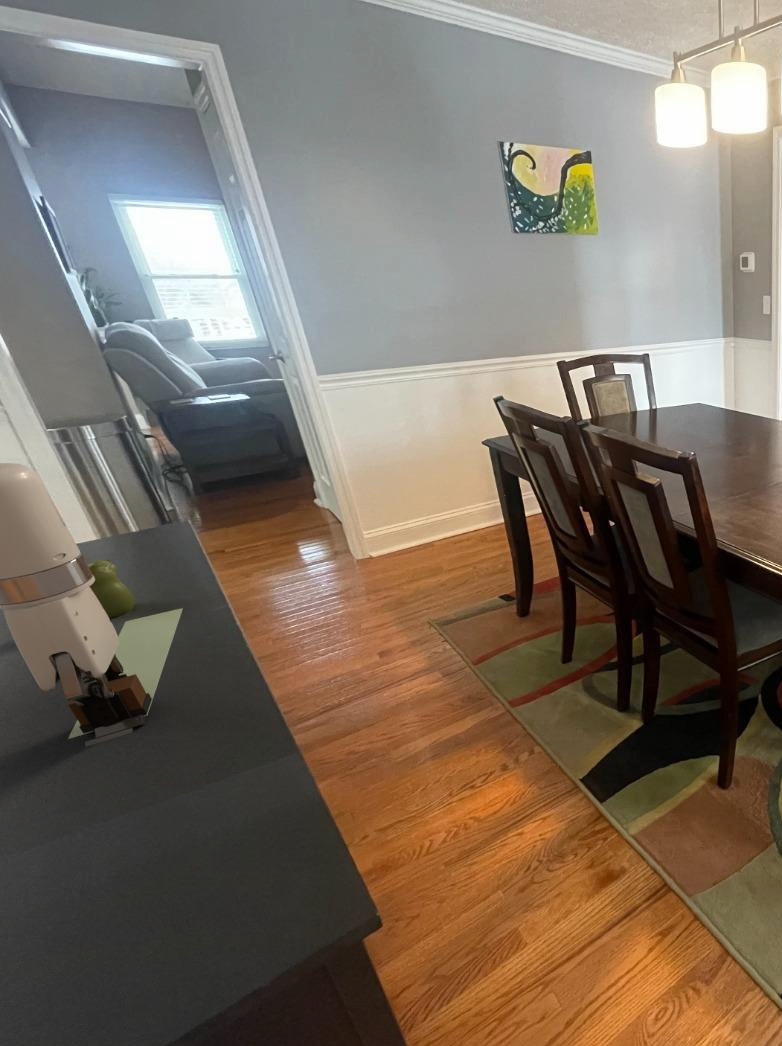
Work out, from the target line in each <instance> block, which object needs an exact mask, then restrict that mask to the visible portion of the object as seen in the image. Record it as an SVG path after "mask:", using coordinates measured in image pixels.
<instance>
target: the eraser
mask: <svg viewBox="0 0 782 1046" xmlns="http://www.w3.org/2000/svg"><path fill="white" fill-rule="evenodd" d="M109 684H110V686H111V688H112V690H113V692H114V693H116V692H119V694H120V696H121V697H122V699H123V701H124V703H125V704H126V706H127V708H128V710H129V711H130V713H131V715H132V717H135V716H139V715H143V716H144V715H147V713H148V714H149V712H148V710H149V711H150V709H149V707H150V708H151V706H150V704H151V705H152V703H151V701H152V702H153V700H152V698H151V696H150V695H149V693H146V692H145V690H144V688H143V686H142V684H141V683H140V681H139V679H138V677H137V675H136V674H134V675H131V676H127V677H123V678H120V679H116V680H112V681H109ZM95 686H97V687H99V686H98V685H95ZM68 707H69V709H70V710H71V712H72V713H73V715H74V717H75V718H76V721H77V720H78V721H79V723H80V724H81V725H80V729H81V731H82V732H83V734H84V733H87V732H90V733H92V732H91V731H94V729H93V728H92V726H91V725H90V723H89V721H88V720H87V718H86V716H85V715H84V713H83V712H82V710H81V708H80V707H79V706H77V704H76V702H75V701H69V703H68ZM147 716H148V715H147ZM144 717H145V716H144ZM94 732H95V731H94ZM87 734H88V733H87ZM84 735H85V734H84Z"/></svg>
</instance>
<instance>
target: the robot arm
mask: <svg viewBox="0 0 782 1046" xmlns="http://www.w3.org/2000/svg"><path fill="white" fill-rule="evenodd" d="M94 581H95V578H94V576H93V574H92V572H91V571H90V569H89V567H88V565H87V561H86V560H85V558H84V555H83V554H82V552H81V551H80V548H79V546H78V544H77V543H76V540H75V539H74V537H73V536H72V533H71V531H70V530H69V528H68V526H67V524H66V523H65V520H64V518H63V517H62V515H61V514H60V512H59V510H58V507H57V506H56V504H55V502H54V500H53V499H52V496H51V495H50V493H49V491H48V489H47V487H46V485H45V484H44V481H43V480H42V478H41V477H40V475H39V474H38V473H37V472H36V471H35V470H34V469H32V468H31V467H29V466H28V465H25V464H21V463H13V462H11V463H10V462H2V463H0V610H3V612H2V613H3V616H4V619H5V621H6V625H7V628H8V630H9V632H10V635H11V636H12V639H13V641H14V643H15V646H16V647H17V649H18V651H19V653H20V655H21V656H22V657H21V658H22V659H23V661H24V662H25V665H26V666H27V668H28V670H29V671H30V673H31V675H32V677H33V679H34V681H35V682H36V684H37V685H38V687H39V689H40V690H41V691H43V692H47V693H49V692H52V691H54V690H55V689H56V688H57V686H58V684H59V682H61V686H62V689H63V692H64V696H65V698H66V700H67V701H68V702H70V701H75V702H76V704H77V706H79V707H80V708H81V710H82V712H83V713H84V715H85V716H86V718H87V720H88V721H89V723H90V725H91V726H92V728H93V729H94V732H95V728H98V727H102V726H108V725H111V724H114V723H116V722H118V721H122V720H125V719H129V718H132V715H131V713H130V711H129V710H128V708H127V706H126V704H125V703H124V701H123V699H122V697H121V696H120V694H119V692H116V693H114V692H113V690H112V688H111V686H110V684H109V681H112V680H116V679H120V678H123V677H127V675H126V674H123V673H124V669H123V666H122V665H121V663H120V662H119V660H118V659H117V657H116V654H115V652H116V650H117V647H118V644H119V639H118V636H119V634H118V633H117V631H116V628H115V626H114V624H113V622H112V620H111V618H109V617H108V615H107V614H106V612H105V610H104V608H103V607H102V605H101V604H100V602H99V600H98V599H97V597H96V596H95V594H94V593H93V591H92V589H91V588H90V587H89V586H90V585H92V584H93V583H94ZM82 674H84V675H82ZM119 674H122V675H119ZM87 683H88V685H86V684H87ZM95 685H98V686H99V687H97V686H95Z"/></svg>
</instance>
